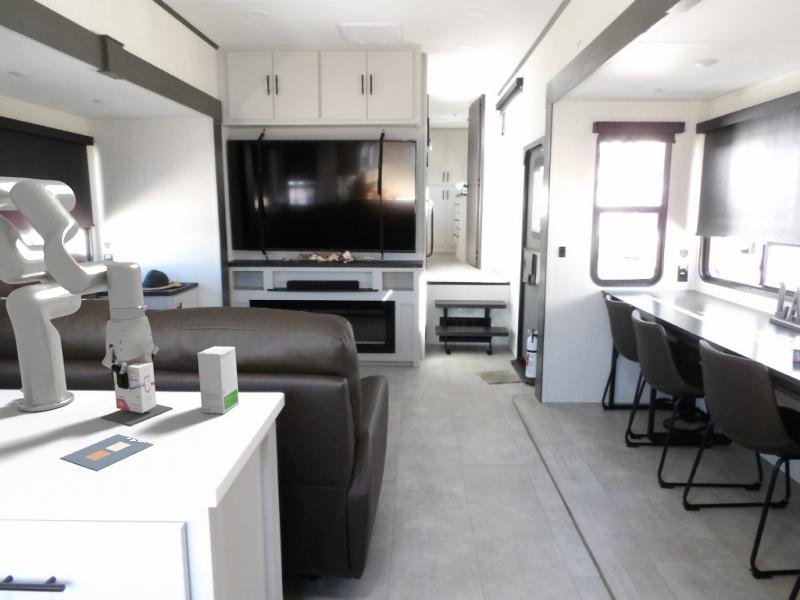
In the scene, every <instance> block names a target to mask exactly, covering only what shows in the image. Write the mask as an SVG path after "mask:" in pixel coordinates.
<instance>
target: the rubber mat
mask: <svg viewBox="0 0 800 600" xmlns="http://www.w3.org/2000/svg"><path fill="white" fill-rule="evenodd" d="M173 409H174V407H170V406H167V405H162V404H157V403H156V407H154V408H152V409H149V410H147V411H145V412H143V413H140V412H134V411H129V410H123V409H117V410H115V411H113V412H110V413H108V414H105V415H101V417H100V418H101V419H102V420H103V419H104V420H107V421H111V422H114V421H115V422H114V423H117V424H118V423H119V424H121V425H125V424H126V426H130V427H133V426H134V424H135V425H137V424H139V422H140V423H142V422H145V421H147V420H149V419H152V418H154V417H156V416H159V415H162V414H164V413H166V412H169V411H171V410H173ZM144 420H145V421H144ZM141 421H142V422H141Z"/></svg>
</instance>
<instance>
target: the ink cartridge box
mask: <svg viewBox="0 0 800 600" xmlns="http://www.w3.org/2000/svg"><path fill="white" fill-rule="evenodd" d="M120 364H121V363H120ZM154 372H155V371H154V363H153V360H152V357H151V352H150V351H146V350H145V356H143V357H139V358H136V359H132V360H129V361H127V364H126V369H125V373H127V374H128V384H129V388H128V389H123V388H119V387H118V385H117V378H116V373H115V372H113V371H112V373H113V382H114V395H115V402H116V403H115V406H116V409H117V410H121V409H123V410H129V411H134V412H140V413H143V412H145V411H147V410H149V409H152V408H154V407H156V404H157V397H156V396H157V395H156V386H155V373H154Z"/></svg>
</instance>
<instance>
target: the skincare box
mask: <svg viewBox="0 0 800 600" xmlns="http://www.w3.org/2000/svg"><path fill="white" fill-rule="evenodd" d="M196 355H197V362H198V377H199V387H200V388H199V390H200V400H201V401H200V404H201V413H204V414H205V413H206V414H215V413H216V414H217V415H218V414H220V415H223V414H225V413H228V412H229V411H230V410H232V409H233V408H234V407H236V406H238V404H239V402H240V399H239V384H238V373H237V372H238V370H237V369H238V368H237V356H236V347H235V346H212V347H209V348H206V349H204V350H202V351H200V352H198V353H196ZM216 414H215V415H216Z"/></svg>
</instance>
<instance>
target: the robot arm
mask: <svg viewBox="0 0 800 600" xmlns="http://www.w3.org/2000/svg"><path fill="white" fill-rule="evenodd" d="M76 201H77V200H76V194H75V192H74V191H73V189H72V188H71V187H70V186H69V185H67V184H66V183H65V182H63V181H60V180H52V179H37V178H29V177H15V176H14V177H13V176H0V211H19V213H20V214H21V215H22V216H23V218H24V219H25V220H26V221H27V222H28V224H30V226H31V227H32V228H33V229H34V231H35V232H36V233H37V234H38V236H40V237H41V239H42V240H43V242H44V243H43V244H33V245H30V244H29V245H28V244H27V243H26V242H25V241H24V239H23V238H22V235H21V233H20V231H19V230H18V228H17V226H16V225H14V223H12V221H10V220H9V219H8V218H6V217H5V216H4V215H2V214H1V213H0V280H1V281H2V282H3V283H6V284H9V285H18V284H27V283H33V282H40V283H37V284H31V285H25V286H21V287H20V288H19V287H18V288H16V289H14V290H12V291H11V293H9V295H8V296H7V297H6V302H5V307H6V312H7V314H8V317H9V319H10V321H11V324H12V328H13V333H14V337H15V343H16V350H17V357H18V362H19V363H18V366H19V371H20V378H21V388H20V392H21V393H23V399H21V400H20V401H18V402H17V409H18V410H20V411H22V412H28V413H29V412H43V411H48V410H53V409H57V408H61V407H64V406H66V405H68V404H71V403H72V402H73V401H74V400H75V394H74V392H72V391H68V390H67V389H68V388H67V382H66V374H65V365H64V356H63V349H62V342H61V335H60V333H59V331H58V329H57V328H56V327H55V325H53V323H52V322H51V320H53V319H57V318H60V317H65V316H66V317H67V316H69V315H72V314H74V313H76V312H77V311H78V310H79V309H80V308H81V306H82V305H81V304H82V296H85V295H90V294H95V293H101V292H106V291H107V293H108V294H107V295H108V297H107V298H108V306H109V307H108V308H109V315H110V319H109V320H107V322H106V329H105V353H106V354H105V357H104V358H103V360H102V361H101V364H102V366H104V367H107V368H108V369H109V370H111V371H112V373H113V372H115V373H116V378H117V385H118V387H119V388H123V389H128V388H129V384H128V374H127V373H125V369H126V364H127V361H129V360H132V359H136V358H139V357H143V356H145V350H146V351H150V352H151V357H152V361H153V360H154V358H155V355H156V354H158V353H157V352H158V351H159V350H160V347H158V345H156V343H154V342H153V341H154V340H153V333H152V329H151V325H150V321H149V318H148V316H147V315H146V312H145V311H147V310H148V309H149V308H148V305H147V304H145V301H144V288H143V279H142V278H143V276H142V269H141V266H140V264H138V263H137V262H133V261H123V262H119V261H115V260H108V259H107V260H106V259H104V260H96V261H94V260H93V261H86V262H77V261H76V260H75V259H74V258H73V257H72V255H71V254H70V253H69V251H68V250H67V248H66V246H65V244H66V243H68V242H70V241H71V240H72V239H73V238H74V237H75V236H76V235H77V233H78V232H79V229H80V228H79V227H80V225H79V223H78V221H77V220H76V219H75V218H74V217H73V215H71V213H70V212H71V211H73V210H74V208H75V206H76ZM112 361H114V362H112ZM120 363H121V364H120Z"/></svg>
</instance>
